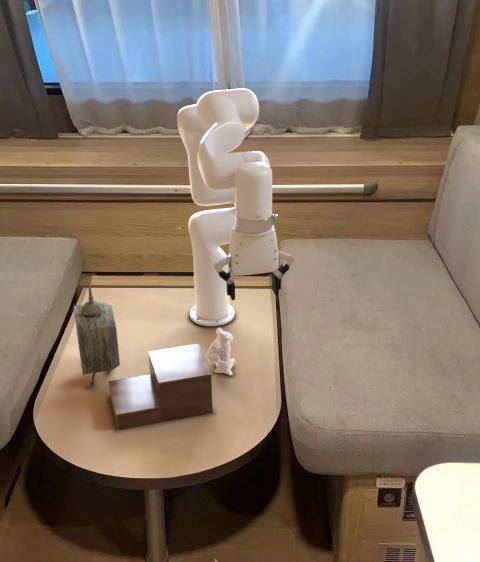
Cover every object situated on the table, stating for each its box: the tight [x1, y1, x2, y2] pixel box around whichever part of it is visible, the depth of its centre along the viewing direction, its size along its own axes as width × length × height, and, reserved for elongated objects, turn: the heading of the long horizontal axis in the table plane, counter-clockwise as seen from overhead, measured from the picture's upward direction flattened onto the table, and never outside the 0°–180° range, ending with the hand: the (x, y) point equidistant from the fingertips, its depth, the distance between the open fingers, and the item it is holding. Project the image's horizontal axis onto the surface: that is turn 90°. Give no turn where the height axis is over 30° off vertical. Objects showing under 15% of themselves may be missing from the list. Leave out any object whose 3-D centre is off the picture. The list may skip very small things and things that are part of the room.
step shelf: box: [108, 343, 214, 431], centre depth 175 cm, size 13×22×11 cm, turn 105°
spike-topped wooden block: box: [73, 282, 121, 388], centre depth 184 cm, size 14×9×25 cm, turn 13°
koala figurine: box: [208, 327, 236, 376], centre depth 187 cm, size 8×7×12 cm
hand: (253, 295), depth 165 cm, fingers open, 9 cm apart
